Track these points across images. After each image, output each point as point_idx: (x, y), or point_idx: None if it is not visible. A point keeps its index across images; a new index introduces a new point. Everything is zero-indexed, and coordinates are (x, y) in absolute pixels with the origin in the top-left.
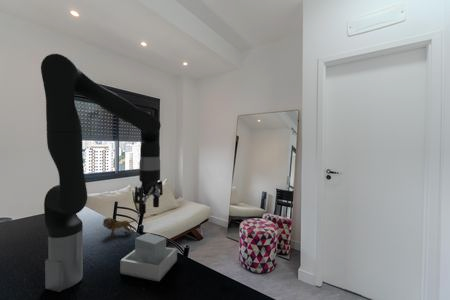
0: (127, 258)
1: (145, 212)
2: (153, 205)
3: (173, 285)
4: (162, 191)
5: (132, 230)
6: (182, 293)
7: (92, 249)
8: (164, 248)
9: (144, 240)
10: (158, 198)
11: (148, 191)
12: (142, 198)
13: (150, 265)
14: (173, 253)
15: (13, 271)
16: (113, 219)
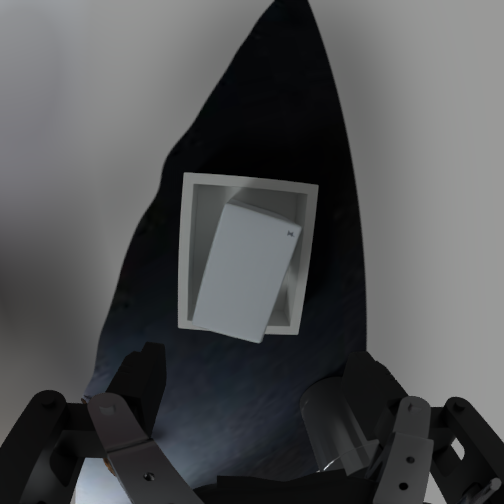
0: (275, 323)
1: (358, 353)
2: (164, 387)
3: (312, 138)
4: (23, 414)
5: (85, 402)
6: (335, 106)
7: (202, 437)
8: (239, 203)
9: (274, 293)
10: (129, 394)
11: (419, 501)
12: (466, 428)
13: (312, 220)
14: (213, 174)
15: (303, 474)
16: (107, 464)
